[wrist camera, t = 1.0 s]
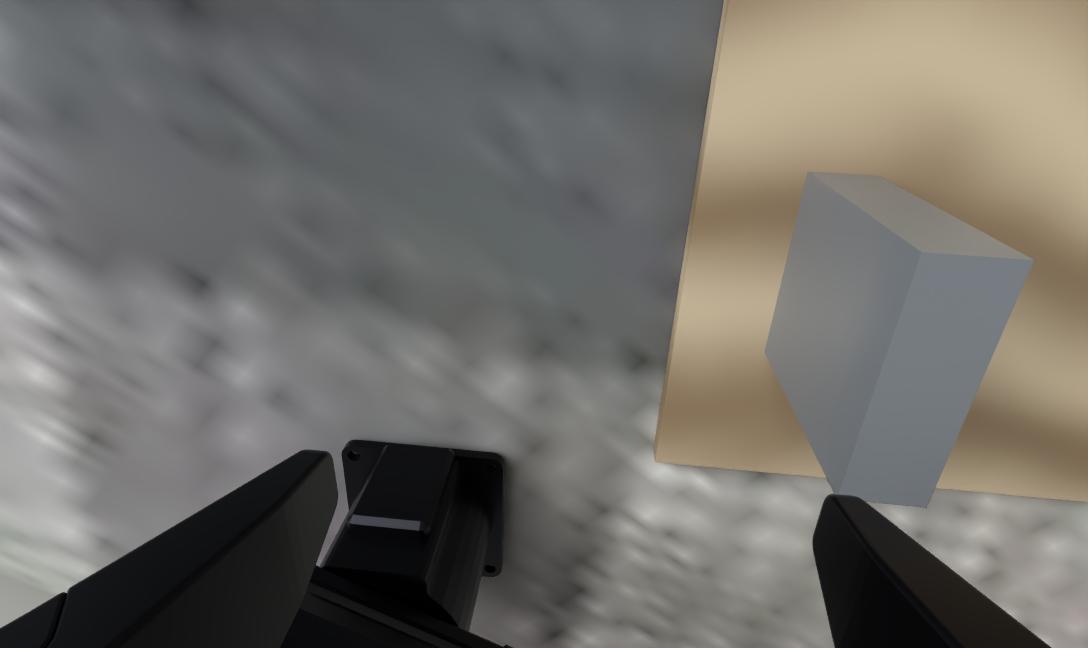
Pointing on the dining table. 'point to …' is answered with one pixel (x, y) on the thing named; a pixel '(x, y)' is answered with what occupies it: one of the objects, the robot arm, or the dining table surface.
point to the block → (886, 331)
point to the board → (916, 166)
